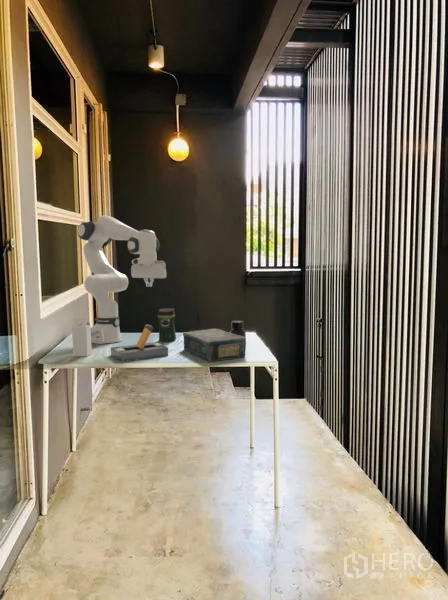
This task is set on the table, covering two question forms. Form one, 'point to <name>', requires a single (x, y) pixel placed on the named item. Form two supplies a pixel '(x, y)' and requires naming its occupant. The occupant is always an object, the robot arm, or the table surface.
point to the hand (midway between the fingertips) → (149, 286)
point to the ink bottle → (238, 328)
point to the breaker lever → (144, 336)
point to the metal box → (214, 344)
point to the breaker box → (139, 351)
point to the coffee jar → (166, 324)
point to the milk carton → (81, 337)
